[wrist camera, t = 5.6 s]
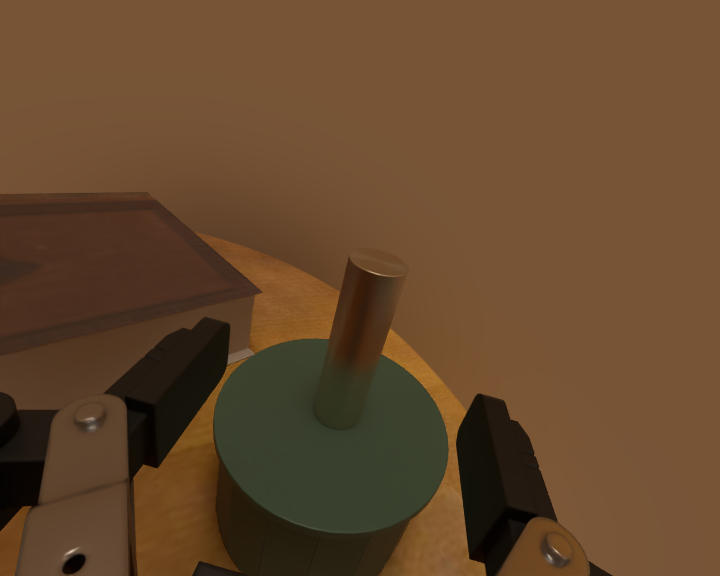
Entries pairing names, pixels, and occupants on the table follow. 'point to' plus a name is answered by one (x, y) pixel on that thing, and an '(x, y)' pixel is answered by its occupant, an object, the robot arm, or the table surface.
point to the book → (102, 291)
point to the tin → (293, 543)
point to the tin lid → (335, 420)
